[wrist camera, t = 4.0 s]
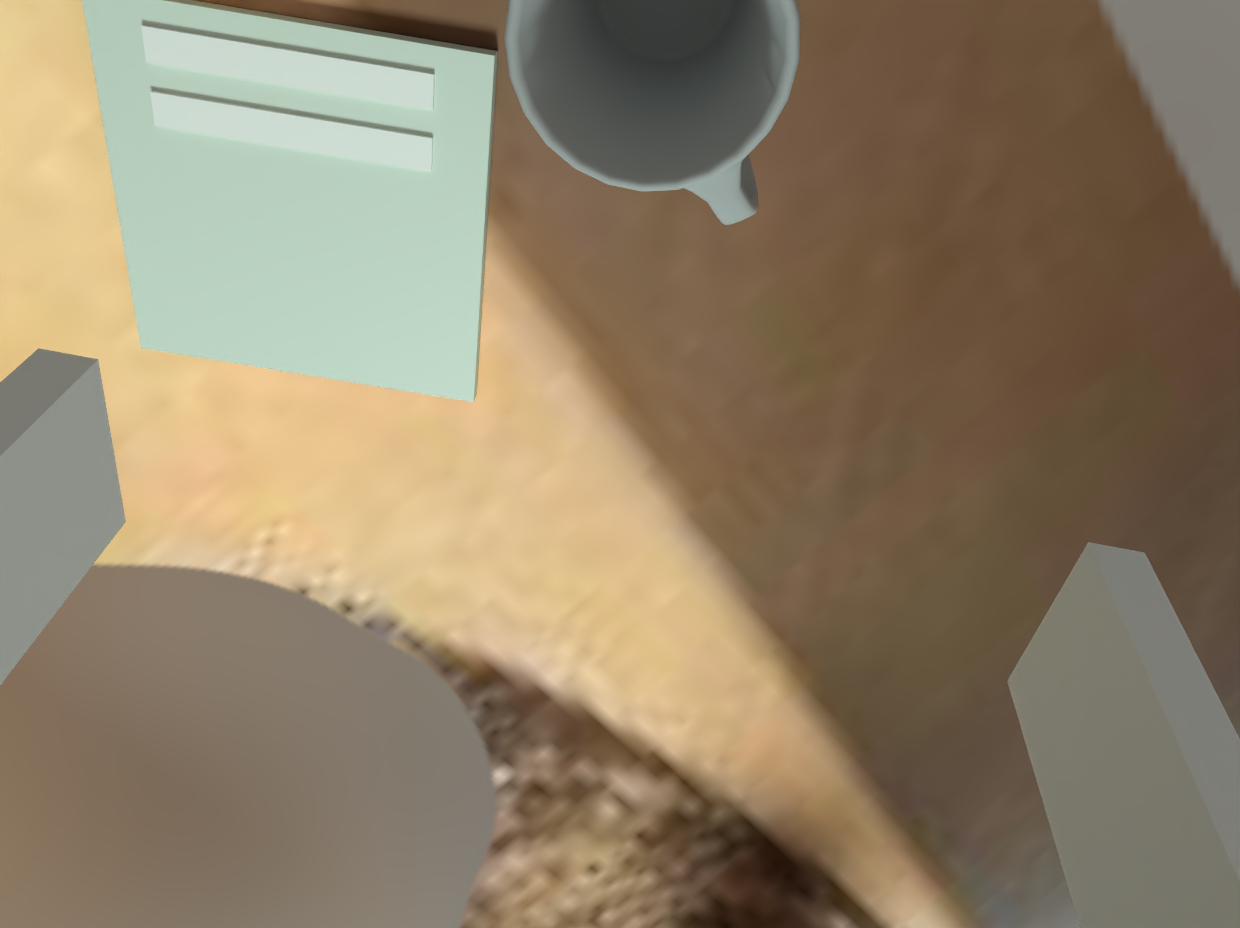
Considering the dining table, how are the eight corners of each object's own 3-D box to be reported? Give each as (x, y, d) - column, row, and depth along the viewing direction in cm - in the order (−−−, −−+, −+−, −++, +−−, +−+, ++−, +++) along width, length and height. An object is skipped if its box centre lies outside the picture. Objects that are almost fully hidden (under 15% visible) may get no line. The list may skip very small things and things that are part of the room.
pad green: (88, -18, 34) (77, -13, 33) (498, 50, 34) (493, 56, 34) (147, 340, 42) (139, 350, 42) (476, 394, 43) (472, 404, 42)
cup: (727, -208, 29) (727, -188, 23) (845, 106, 34) (875, 199, 28) (506, -77, 32) (446, -24, 25) (645, 197, 37) (627, 305, 30)
